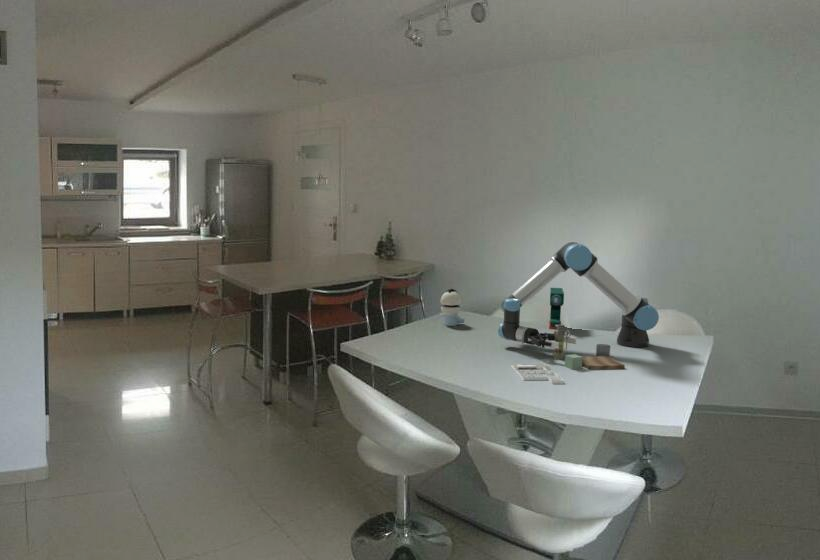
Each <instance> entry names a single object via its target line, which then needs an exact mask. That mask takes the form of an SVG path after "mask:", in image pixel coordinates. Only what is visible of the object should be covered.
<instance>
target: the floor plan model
mask: <svg viewBox="0 0 820 560" xmlns="http://www.w3.org/2000/svg"><path fill="white" fill-rule="evenodd" d="M511 368H512V370H513V371H514V372H515V373H516V374H517V375H518V376H519V377H520V378H521V379H522V381H548V382H549V383H551V384H552V385H556V384H557V385H558V384H561V385H562V384H565V380H564V379H563V378H562V377H561V376H559V375H558V374H557V373H556V372H555V371H549V370H550V366H549V364H547V363H533V364H532V363H531V364H530V363H529V364H525V363H524V364H521V363H520V364H519V363H517V364H511ZM521 369H522V370H521ZM526 369H527V370H526ZM529 369H530V370H529ZM532 369H533V370H532ZM531 372H533V374H535V375H536V376H535V375H532V373H531ZM536 372H537V373H536ZM525 373H526V374H525ZM545 373H547V374H548V375H546V374H545ZM527 374H529V375H527Z"/></svg>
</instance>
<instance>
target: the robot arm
mask: <svg viewBox="0 0 820 560" xmlns="http://www.w3.org/2000/svg"><path fill="white" fill-rule="evenodd" d="M598 259H599V258H598V257H597V256H596V255H595V254H593V253H592V251H591V250H590V249H589V247H587V246H586V245H584V244H581V243H579V242H574V241H571V242H567V243H566V244H564V245H563V246H562V247H560V249H558V250H557V251H556V252H555V253H554V254H553V255H552V256H551V259H550V261H548V262H547V263H546V264H544V266H543V267H541V268H540V269H539V270H538V271H537V272H536V273H535V274H534V275H532V276H531V277H530V278H529V279H527V280H526V281H525V282H524V283H523V284H522V285H520V286H519V288H517V289H516V290H515V291H514V292H513V293H512V294H510V296H508V297H506V298H504V299H502V301H501V304H500V309H501V311H502V312H503V322H502V323H500V324H499V326H498V328H497V334H498V336H499V337H500V338H502V339H504V340H506V341H513V342H517V343H518V342H519V343H521V344H522V345H523V344H526V345H531V346H533V345H534V346H537V347H539V348H540V347H541V349H544V348H545V347H548V348H552V349H555V348H556V349H559V342H555V335H554V333H549V332H539V330H538V329H537V328H533V327H529V326H525V325H520V323H521V322H520V319H521V318H520V317H521V307H523V306H524V305H525V304H526V303H527V302H528V301H530V299H532V298H533V297H534V296H535V295H536V294H538V293H539V292H540V291H541V290H542V289H544V288H545V287H546V286H547V285H548V284H549V283H551V282H552V281H553V280H554V279H555V278H556V277H557V276H559V275H560V274H561V273H565V272H566V271H568V270H569V269H571V270H572V271H573V272H574V273H575V274H577V276H579V277H585V278H586V279H587V280H588V281H589V282H590V283H592V285H594V287H596V288H597V289H598V290H599V291H600V292H601V293H603V294H604V296H606V297H607V298H608V299H609V300H611V302H613V303H614V304H615V305H616V306H617V307H618V308H619V309H620V310H621V326H620V330H619V332H618V335H617V338H616V344H617V345H620V346H623V347H630V348H645V347H649V346H650V339H649V335H648V331H649V330H652V329H654V328H655V327H656V326H657V324H658V322H659V319H660V316H659V312H658V310H657V309H656V308H655V307H654V306H652V305H650V304H649V299H648V298H647V297H641V296H640V295H639V296H638V295H637V296H635V295H634V294H633V293H632V292H631V291H630V290H628V289H627V288H626V287H625V286H624V285H623V284H622V283H621V282H619V280H617V279H616V278H615V277H614V276H613V275H612V274H611V273H610V272H608V271H607V270H606V269H605V268H604V267H603V266H602V265H601V264H600V263H599V262H598ZM568 337H569V336H568ZM564 338H566V335H565V336H564ZM564 343H566V339H564ZM567 344H572V345H577V338H576V337H572V336H570V337H569V338H568V339H567Z"/></svg>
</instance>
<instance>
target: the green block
mask: <svg viewBox="0 0 820 560" xmlns="http://www.w3.org/2000/svg"><path fill="white" fill-rule="evenodd" d="M582 357H583V356H581V355H578V354H576V353H575V354H574V353H573V354H566V355H565V354H564V367H566V368H567V369H570V370H579V369H582V368H583V366H582Z"/></svg>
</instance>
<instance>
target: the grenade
mask: <svg viewBox="0 0 820 560" xmlns="http://www.w3.org/2000/svg"><path fill="white" fill-rule="evenodd" d="M555 326H556V327H557V329H555V330H554V331H553V334H554V335H555V341H554V342H559V349H556V348H554V353H553V354H552V358H553V359H555V360H565V354H564V350H565V351H566V350H568V343H567V339H568V338H569V337H571V335H572V332H571V330H570V328H568V327H566V326H565V325H564V324H561V325H555ZM565 335H566V338H564V336H565ZM568 335H569V336H568ZM564 339H566V342H564ZM564 343H565V348H564Z"/></svg>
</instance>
